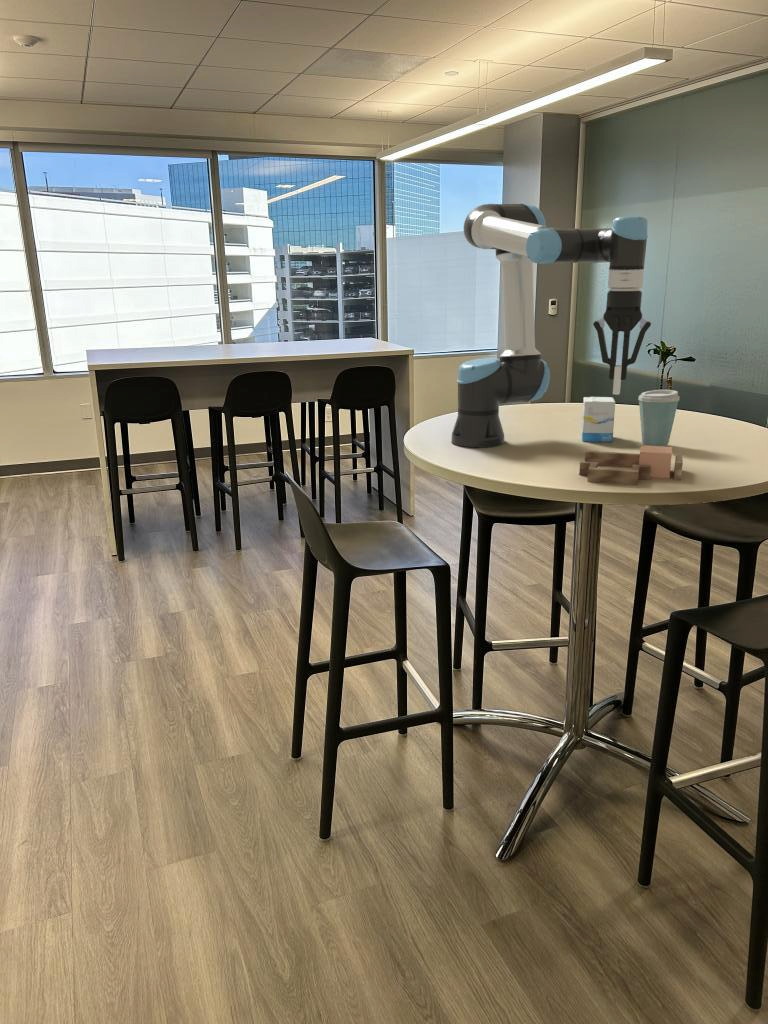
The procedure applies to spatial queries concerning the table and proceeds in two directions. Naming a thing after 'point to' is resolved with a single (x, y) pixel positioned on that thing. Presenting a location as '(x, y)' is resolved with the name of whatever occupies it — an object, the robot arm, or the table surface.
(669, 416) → the disposable coffee cup
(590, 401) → the ink box
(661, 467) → the block
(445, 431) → the table surface
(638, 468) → the open wooden frame
